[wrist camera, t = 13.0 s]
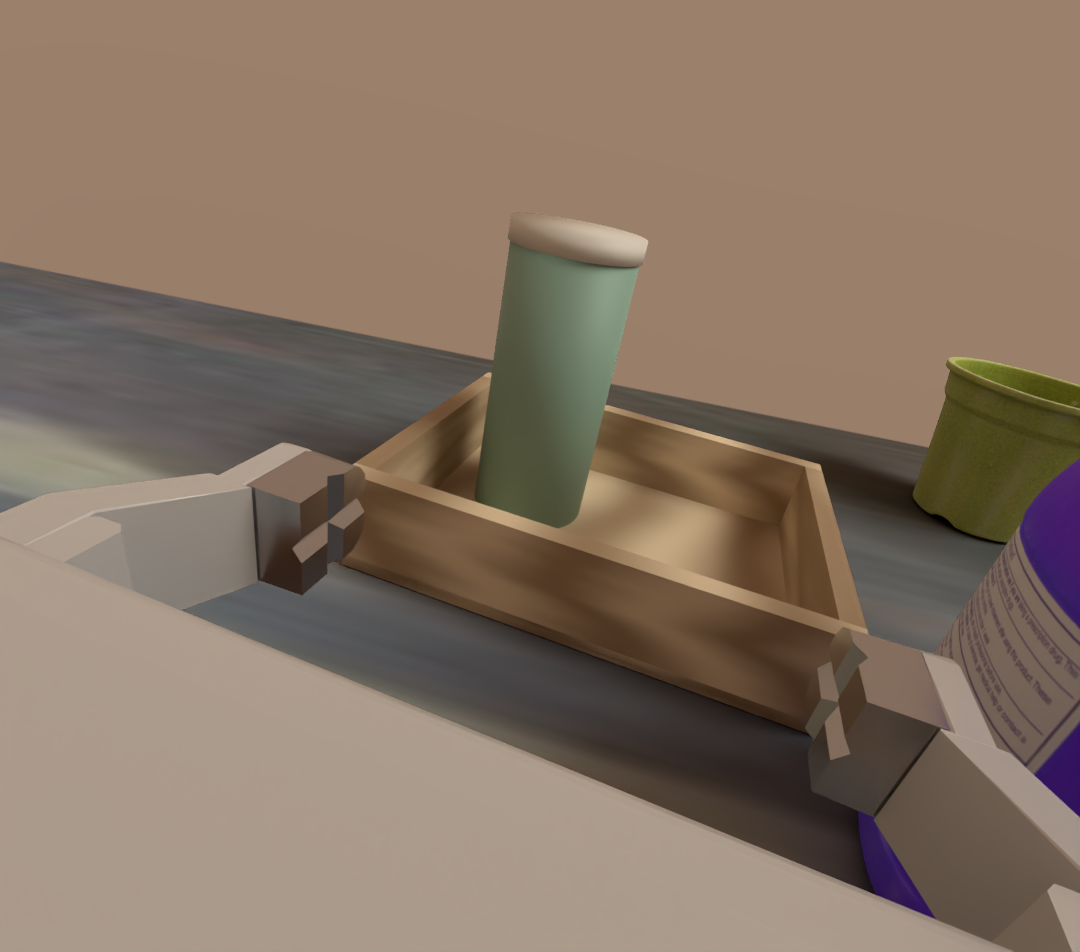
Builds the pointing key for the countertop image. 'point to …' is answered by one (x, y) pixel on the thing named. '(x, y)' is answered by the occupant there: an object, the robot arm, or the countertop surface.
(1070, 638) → the bottle
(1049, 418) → the plant pot
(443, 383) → the countertop surface
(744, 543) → the crate
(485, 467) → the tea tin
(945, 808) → the robot arm
